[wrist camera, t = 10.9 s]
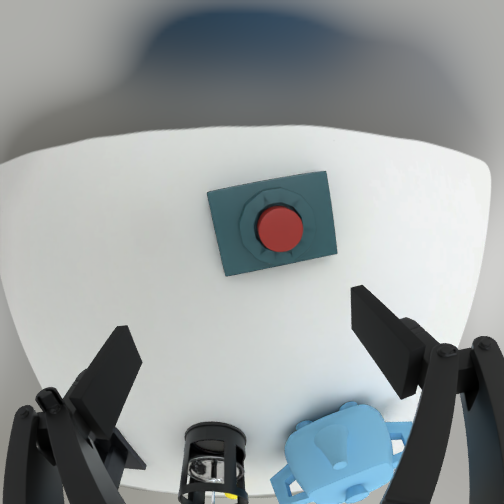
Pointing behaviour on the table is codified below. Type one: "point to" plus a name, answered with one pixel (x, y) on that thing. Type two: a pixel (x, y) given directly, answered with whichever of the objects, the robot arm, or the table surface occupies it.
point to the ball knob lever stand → (117, 455)
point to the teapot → (340, 456)
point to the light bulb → (231, 496)
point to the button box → (260, 199)
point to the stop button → (280, 228)
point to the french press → (213, 463)
